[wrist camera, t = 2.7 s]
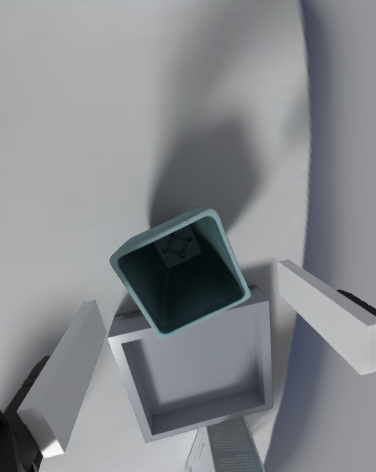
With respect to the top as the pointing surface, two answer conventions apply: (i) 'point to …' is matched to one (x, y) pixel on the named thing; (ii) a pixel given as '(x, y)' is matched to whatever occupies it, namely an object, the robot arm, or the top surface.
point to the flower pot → (181, 271)
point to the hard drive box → (225, 449)
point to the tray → (196, 368)
